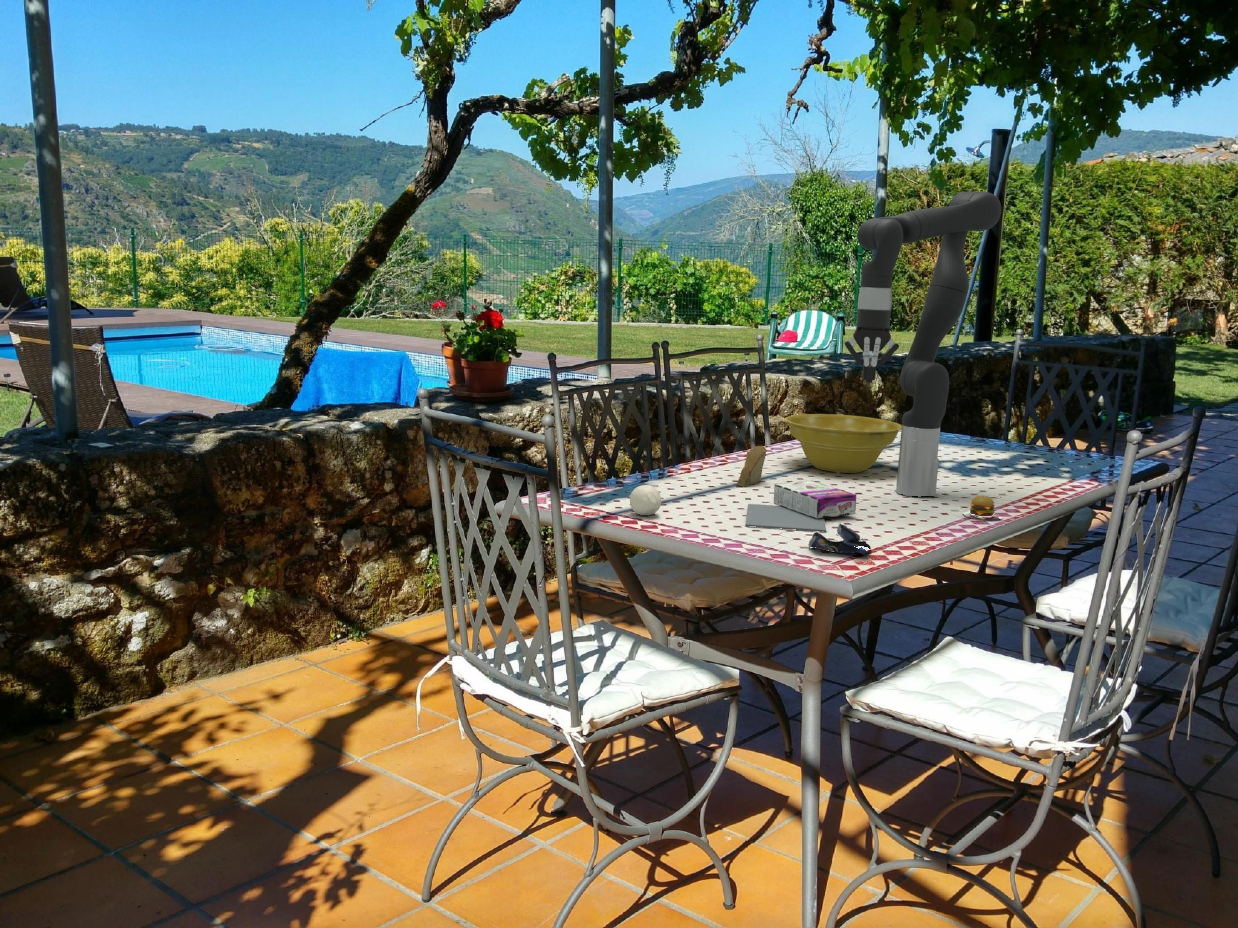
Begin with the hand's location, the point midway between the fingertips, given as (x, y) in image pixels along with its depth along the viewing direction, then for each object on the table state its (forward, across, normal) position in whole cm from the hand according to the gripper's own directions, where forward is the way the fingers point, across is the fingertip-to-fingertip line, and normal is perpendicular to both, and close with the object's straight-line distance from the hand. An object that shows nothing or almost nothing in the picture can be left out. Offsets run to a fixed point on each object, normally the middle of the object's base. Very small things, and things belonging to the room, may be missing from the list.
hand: (868, 382), depth 242 cm
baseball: (+29, +48, +27) cm, 62 cm away
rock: (+29, +27, -15) cm, 43 cm away
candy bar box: (+26, +6, +19) cm, 33 cm away
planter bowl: (+29, +2, -43) cm, 52 cm away
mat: (+29, +18, +21) cm, 40 cm away
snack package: (+30, +6, +45) cm, 55 cm away
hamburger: (+30, -28, +6) cm, 41 cm away
